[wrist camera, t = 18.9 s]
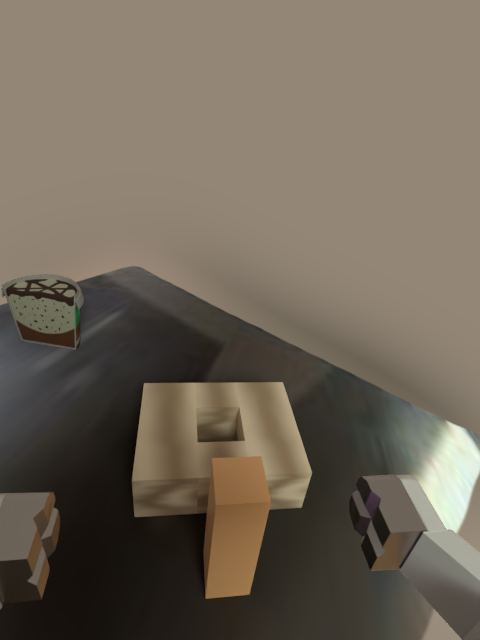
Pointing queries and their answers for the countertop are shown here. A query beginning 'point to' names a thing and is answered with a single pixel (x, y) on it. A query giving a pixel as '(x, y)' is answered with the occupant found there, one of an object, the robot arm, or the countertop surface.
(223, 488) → the plug
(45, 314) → the food container
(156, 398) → the socket
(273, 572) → the countertop surface
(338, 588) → the countertop surface
